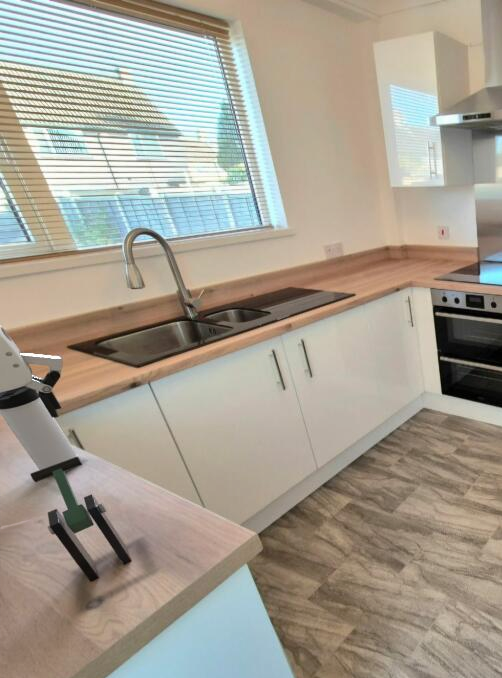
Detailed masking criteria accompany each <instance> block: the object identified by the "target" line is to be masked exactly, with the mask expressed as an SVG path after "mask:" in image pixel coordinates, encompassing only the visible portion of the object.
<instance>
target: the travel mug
mask: <svg viewBox="0 0 502 678" xmlns="http://www.w3.org/2000/svg"><path fill="white" fill-rule="evenodd" d="M0 415H1V417H2V418H3V420H4V421H5V422H6V424H7V426H8V427H9V428H10V430H11V431H12V433H13V434H14V436H15V437H16V439H17V440H18V442H19V443H20V444H21V446H22V447H23V448H24V450H25V452H26V453H27V454H28V456H29V457H30V458H31V460H32V462H33V463H34V464H35V466H36V467H37V469H38V471H39V470H41V469H44V468H47V467H50V466H52V465H55V464H58V463H61V462H63V461H66V460H69V459H72V458H74V457H77V456H78V457H79V454H77V452H76V450H75V449H74V447H73V445H72V444H71V442H70V441H69V439H68V437H67V436H66V434H65V433H64V431H63V430H62V428H61V427H60V425H59V423H58V422H57V419H56V418H54V417H51V415H50V414H49V412H48V410H47V409H46V407H45V405H44V404H43V402H42V400H41V399H40V397H39V394H38V391H37V390H34V389H31V388H28V387H25V386H22V387H19V388H16V389H12V390H9V391H5V392H1V393H0ZM79 459H80V460H81V458H80V457H79ZM70 470H71V471H72V469H70ZM70 470H68V471H70ZM68 471H65V473H66V472H68Z"/></svg>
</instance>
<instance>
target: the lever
mask: <svg viewBox="0 0 502 678" xmlns="http://www.w3.org/2000/svg"><path fill="white" fill-rule="evenodd" d="M79 458H80V457H79V455H78V456H77V457H74V458H72V459H69V460H66V461H63V462H61V463H58V464H55V465H52V466H50V467H47V468H44V469H41V470H39V469H38V470H36V471H34V472H30V477H31V479H32V481H33V482H34V483H38V482H41V481H44V480H46V479H49V478H52V477H53V478H54V480H55V483H56V484H57V487H58V489H59V493H60V494H61V496H62V499H63V501H64V504H65V506H66V508H67V509H66V510H63V511H62V512H61V514H62V517H63V518H64V520H65V521H66V523H67V526H68V527H69V528H70V529H71V530H72V531H73V532H74V534H78V533H80V532H82V531H84V530H86V529H88V528H91V527H93V526H94V522H93V518H92V517H91V515H90V514H89V512H88V511H87V508H86V506H84V504H82V503H80V504H79V502H78V500H77V498H76V495H75V493H74V491H73V489H72V485H71V484H70V480H69V479H68V477H67V474H66V472H65V471H67V472H68V470H69V471H70V469H71V470H74V469H76V468H78V467H81V466H83V462H82V460H81V458H80V459H79Z"/></svg>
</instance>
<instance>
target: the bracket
mask: <svg viewBox="0 0 502 678" xmlns="http://www.w3.org/2000/svg"><path fill="white" fill-rule="evenodd" d="M83 500H84V504H85V508H86V510H87V511H88V512H89V515H90V517H91V519H92V521H94V523H95V524H96V526H97V527H98V529H99V530H100V531H101V533H102V535H103V536H104V538H105V539H106V541H107V543H108V544H109V545H110V547H111V548H112V550H113V551H114V553H115V554H116V556H117V557H118V558H119V560H120V562H121V563H122V565H123V566H125V565H127V564H129V563H131V562H132V558H131V555H130V552H129V549H128V547H127V545H126V544H125V542H124V541H123V539H122V538H121V536H120V534H119V533H118V531H117V530H116V528H115V527H114V525H113V523H112V522H111V520H110V519H109V518H108V516H107V514H106V512H107V509H106V507H105V505H104V504H103V503H99V502H98V500H97V499H96V497H95V496H94V494H93V493H91V494H89V495H87V496H83ZM47 519H48V524H49V525H47V529H48V531H49V532H50V534H51V535H52V536H54V535H55V536H56V538H57V539H58V540H59V542H60V544H62V546H63V547H64V548H65V549H66V551H67V553H68V554H69V555H70V557H71V558H72V559H73V561H74V562H75V564H77V566H78V567H79V569H80V570H81V571H82V572H83V574H84V575H85V577H86V579H88V581H89V582H90V583H93V582H95V581H97V580H98V579H100V576H99V572H98V569H97V564H96V562H95V560H94V558H92V556H91V555H90V553H89V552H88V551H87V549H86V548H85V546H84V545H83V543H82V542H81V541H80V539H79V538H78V537H77V535H76V533H74V532H73V531H72V530H71V529H70V528H69V527H68V526H67V523H66V521H65V518H64V516H63V514H62V513H61V512H60V511H59V510H58V508H55V509H53V510H50V511H48V512H47Z"/></svg>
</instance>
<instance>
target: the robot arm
mask: <svg viewBox="0 0 502 678" xmlns="http://www.w3.org/2000/svg"><path fill="white" fill-rule="evenodd" d="M63 363H64V360H63V358H62V357H60V356H57V355H46V354H35V353H26V352H21V350H20V349H19V347H18V346H17V344H16V343H15V342H14V340H13V339H12V337H11V336H10V335H9V334H8V332H7V331H6V330H5V329H4V328H3V326H2V325H1V324H0V393H1V392H5V391H9V390H12V389H16V388H19V387H22V386H25V387H28V388H31V389H34V390H36V391H37V393H38V394H39V397H40V399H41V400H42V402H43V404H44V405H45V407H46V409H47V410H48V412H49V414H50V415H51V417H54V419H56V418H59V412H58V410H61V409H62V405H61V403H60V402H59V400H58V399H57V396H56V395H55V394H54V392H53V390H54V389H53V388H54V387H55V386H56V384H57V383H58V381H59V380H60V378H61V374H62V370H63V369H62V368H63ZM30 365H39V366H48V372H47V373H46V375H45V376H44V377H43V378H41V377H38V376H35V375H33V370H32V368H31V366H30Z"/></svg>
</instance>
